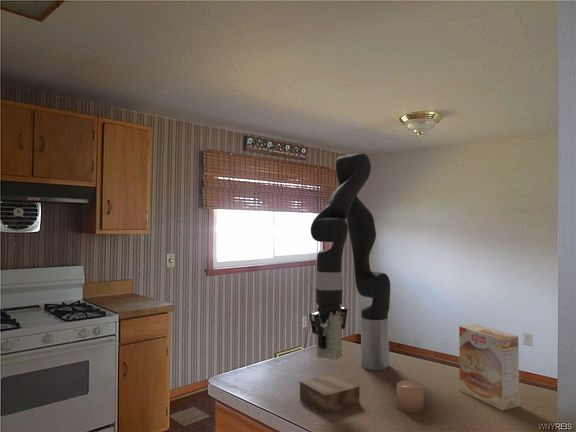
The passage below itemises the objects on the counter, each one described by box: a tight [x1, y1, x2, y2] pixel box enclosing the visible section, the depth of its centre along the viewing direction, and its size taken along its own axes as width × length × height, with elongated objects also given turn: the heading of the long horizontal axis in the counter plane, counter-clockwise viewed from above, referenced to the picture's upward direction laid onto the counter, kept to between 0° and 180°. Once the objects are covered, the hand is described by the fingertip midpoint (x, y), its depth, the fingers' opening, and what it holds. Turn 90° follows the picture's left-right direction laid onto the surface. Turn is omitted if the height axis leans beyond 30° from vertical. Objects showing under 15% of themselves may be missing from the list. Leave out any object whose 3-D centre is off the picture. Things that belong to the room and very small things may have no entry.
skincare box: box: [315, 314, 343, 361], centre depth 118 cm, size 6×4×12 cm
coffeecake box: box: [458, 323, 520, 411], centre depth 119 cm, size 15×7×20 cm, turn 23°
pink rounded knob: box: [396, 380, 425, 414], centre depth 113 cm, size 7×7×6 cm
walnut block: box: [299, 373, 360, 414], centre depth 117 cm, size 12×12×5 cm
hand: (329, 346), depth 118 cm, fingers closed on skincare box, 5 cm apart
